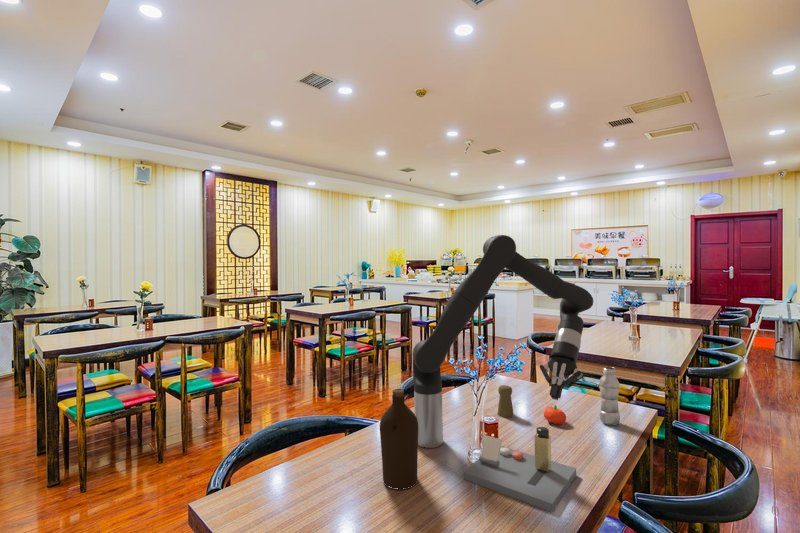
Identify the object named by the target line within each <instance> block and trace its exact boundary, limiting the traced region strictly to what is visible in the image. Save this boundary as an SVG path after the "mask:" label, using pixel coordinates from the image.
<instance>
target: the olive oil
mask: <svg viewBox="0 0 800 533" xmlns="http://www.w3.org/2000/svg"><path fill="white" fill-rule="evenodd" d="M391 393H392V394H391V395H392V396H391V401H392V403H391V405H390V406H389V407H388V408H387V410H385V412H384V413H383V414H382V415H381V418H380V422H379V435H380V436H379V437H380V447H381V449H380V450H381V451H380V452H381V463H382V468H381V469H382V481H384V482H383V484H384V483H385V484H386V485H387V486H390V487H392V488H398V489H403V488H408V487H411V486H413V485H414V484H415V485H416V484H417V483H416V482H418V459H419V458H418V455H419V454H418V450H419V448H418V447H419V446H418V421H417V418H416V416H415V414H414V413H415V412H414V411H412V410H411V409H410V407H409V406H407V405H406V403H405V401H406V400H405V395H406V394H405V390H404V389H402V388H394V389H393V390H392V392H391ZM385 484H384V485H385ZM386 485H385V486H386ZM415 485H414V486H415ZM387 486H386V487H387ZM414 486H413V487H414ZM411 488H412V487H411Z"/></svg>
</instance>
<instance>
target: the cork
mask: <svg viewBox="0 0 800 533" xmlns="http://www.w3.org/2000/svg"><path fill="white" fill-rule="evenodd" d="M497 392H498V394H499V399H498V406H497V407H498V408H497V416H499V417H500V418H507V419H509V418H513V417H514V415H515V413H514V408H513V401H512V394H513V388H512V387H511V386H510V385H507V384H503V385H500V386H498V389H497Z"/></svg>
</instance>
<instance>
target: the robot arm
mask: <svg viewBox="0 0 800 533" xmlns="http://www.w3.org/2000/svg"><path fill="white" fill-rule="evenodd" d="M482 253H483V256H482V257H481V259H480V261H479V262H478V264H477V265H476V266H475V269H473V270H472V272H470V274H469V275H467V277H465V279H463V280H462V281H461V283H460V284H458V286H457V287H456V288H455V289H454V291H453V293H452V294H451V296H450V297H449V298H448V300H447V302H446V304H445V306H444V308H443V309H442V313H441V315H440V317H439V320H438V322H437V324H436V327H435V328H434V330H433V331H432V333H431V334H430V335H429V337H428V338H427V339H424V340H420V341H418V342H417V343H416V344H415V346H414V347H413V351H412V378H413V396H414V400H413V401H414V402H413V403H414V405H413V406H414V412H413V413H414V414H415V416H416V418H417V421H418V445H419V446H418V447H420V448H424V447H425V448H426V449H434V448H438V447H440V446H442V445H443V443H444V427H443V426H444V422H443V421H444V420H443V419H444V418H443V417H444V415H443V413H444V412H443V382H442V375H441V366H442V364H443V362H444V361H445V358H446V356H447V355H448V353H449V352H450V349H451V347H452V346H453V344H454V342H455V340H456V339H457V337H458V336H459V335H460V334H461V332H462V331H463V330H464V328H465V327H466V326H467V325H468V323H469V321H470V320H471V319H472V317H473V316H474V314H475V313H476V311H477V310H478V308H479V307H480V305H481V303H482V302H483V300H484V299H485V297H486V296H487V294H488V293H489V291H490V289H491V288H492V285H493V284H494V282H495V280H496V279H497V278H498V276H500V274H502V272H503V270H504V269H506V270H509V272H512V273H513V274H515V275H517V276H519V277H520V278H522V280H524V281H526V282H527V283H528V284H529V285H532V286H533V287H534V288H536V289H537V290H539V291H540V292H542V293H543V294H545V295H546V296H548V298H549V297H550V298H551V299H553V300H559V299H561V301H560V302H559V318H560V321H559V324H558V329H557V332H556V334H555V337H554V341H553V344H552V350H551V354H550V359H549V360H547V363H546V364H544V365H543V364H540V365H539V369H540V370H541V373H542V374H543V376H544V378H545V381H546V382H547V383H548V385H550V390H549V395H550V397H551V399H552V400H555V401H558V400H559V399H561V397H562V393H563V390H564V389H566V388H567V389H570V388H571V387H572V386H573V385H575V384H576V383H577V382H579V381H580V380H582V378H583V377H584V375H583V373H582V371H580V370H578V367H577V361H578V358H579V352H580V349H581V343H582V335H583V330H584V320H583V318H582V317H581V316H579V314H581V313H583V312H585V311H588V310H590V309H591V308H592V307H593V305H594V298H593V295H592V293H591V292H589V291H588V290H587V289H585V288H583V287H582V286H580V285H577V284H573V283H571V282H568V281H565V280H564V279H562V278H561V277H559V276H558V275H556V274H555V273H553V272H552V271H550V270H549V269H547V268H544V267H543V266H541V265H539V264H537V263H535V262H534V261H531V260H529V259H528V258H526V257H524V256H523V255H521V254H520V253H519V252H517V245H516V242H515V240H514V239H513V238H512V236H510V235H505V234H498V235H493V236H491V237H489V238H487V240H486V241H484V243H483V246H482ZM549 371H550V372H551V377H550V375H549Z"/></svg>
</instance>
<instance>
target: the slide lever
mask: <svg viewBox="0 0 800 533" xmlns="http://www.w3.org/2000/svg"><path fill="white" fill-rule="evenodd" d="M535 431H536V434H534V456H535V468H537V469H540V470H543V471H547V472H549V470H550V469H551V461H552V436H551V435H550V429H549V428H548V427H544V426H537V427H536V430H535Z"/></svg>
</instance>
